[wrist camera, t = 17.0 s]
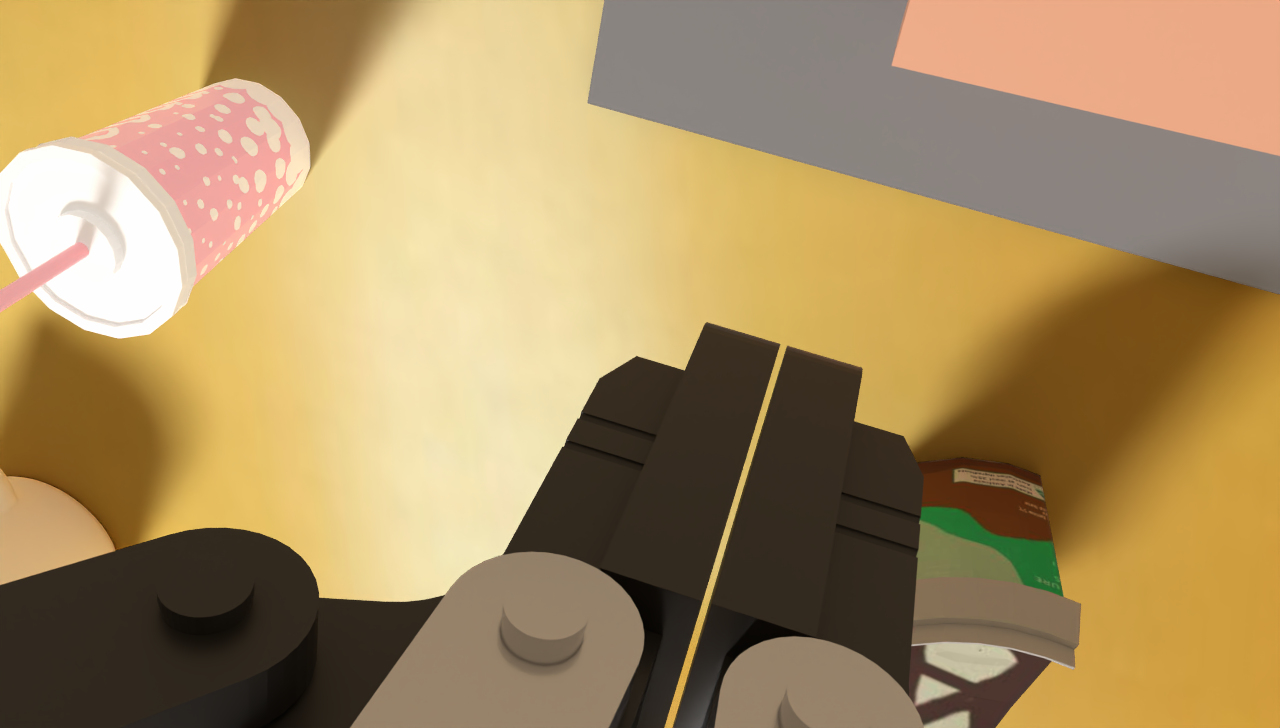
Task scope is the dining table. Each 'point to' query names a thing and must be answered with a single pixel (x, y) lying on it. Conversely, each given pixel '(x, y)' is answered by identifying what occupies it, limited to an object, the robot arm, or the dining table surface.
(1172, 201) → the mat
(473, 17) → the dining table surface
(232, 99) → the beverage cup
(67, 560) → the mug
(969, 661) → the food container
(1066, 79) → the block
